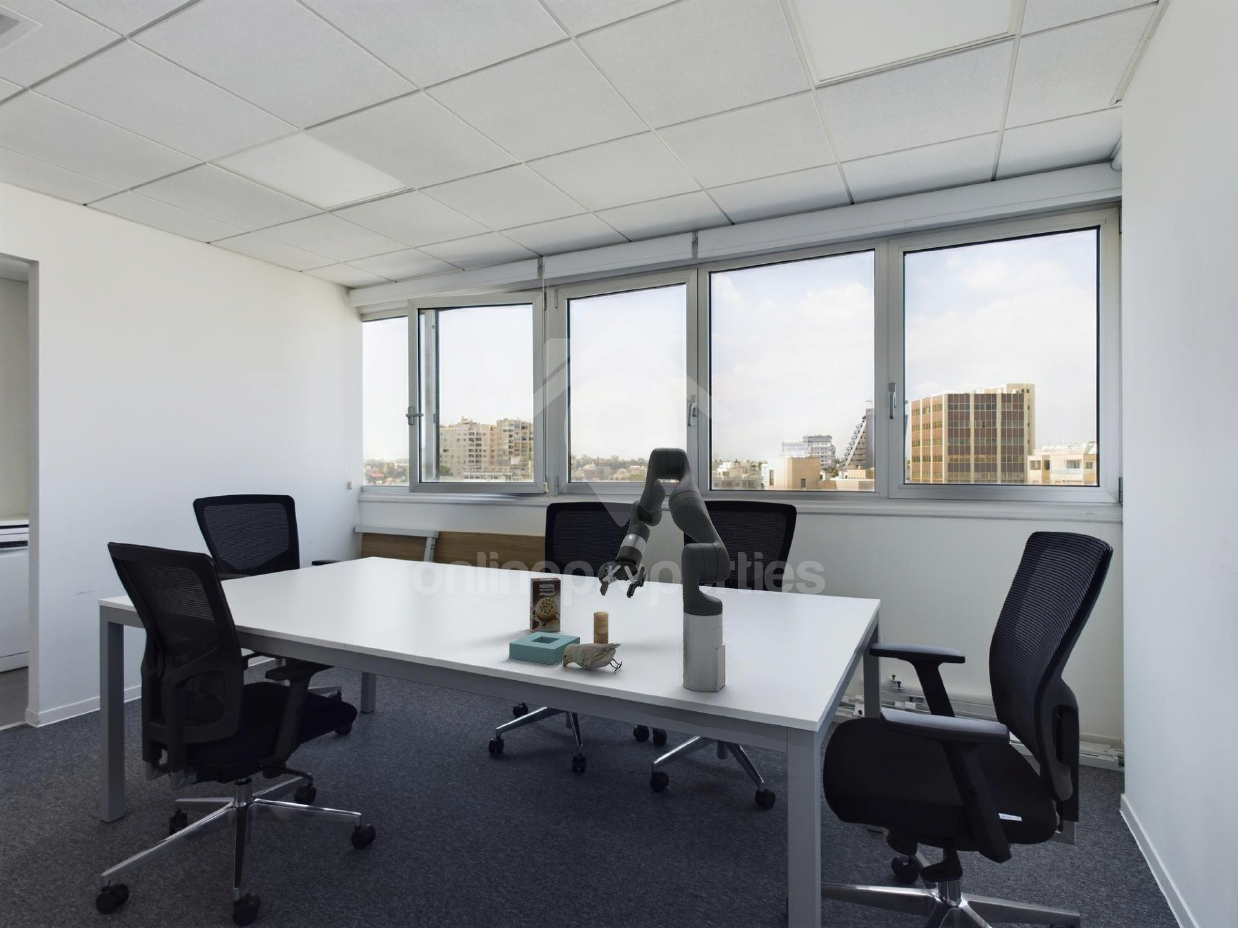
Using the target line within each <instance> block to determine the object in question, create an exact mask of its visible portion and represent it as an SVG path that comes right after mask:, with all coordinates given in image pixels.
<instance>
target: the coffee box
mask: <svg viewBox="0 0 1238 928" xmlns="http://www.w3.org/2000/svg"><path fill="white" fill-rule="evenodd" d="M529 584H530V586H529V587H530V589H529V590H530V591H529V592H530V593H529V629H530V631H531V633H535V632H545V633H551V632H561V614H562V613H561V608H562V607H561V606H562V605H561V601H562V600H561V599H562V597H561V594H562V592H561V591H562V588H561V587H562V579H560V578H559V577H536V578H535V577H532V578H530V583H529Z"/></svg>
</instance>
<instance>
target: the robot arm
mask: <svg viewBox="0 0 1238 928" xmlns="http://www.w3.org/2000/svg"><path fill="white" fill-rule="evenodd" d="M647 463H648V464H647V469H646V477H645V485H644V489H643V491H642V494H641V496H640V499H637V500H635V501H633V503H632V504H631V506H630V510H629V511H630V512H629V527H628V529H627V532H626V535H625V537H624V539H623V540H622V541H621V542H622V543H621V544H620V548H619V549H618V553H617V556H616V557H615V562H614V564H613V565H608V564H609V563H604V564H603V567H602V569H601V571H600V573H599V575H598V578H597V579H598V581H599V582H600V584H601V586H600V588H599V592H600V594H601V595H602V596H604V597H605V596H606V594H607V592H608V588H609V586H610V585H611V584H612V583H615V582H616V581H624V582H628V581H630V583H629V585H628V587H627V590H626V591H627V592H626V597H627V599H631V598H632V597H634V594H635V591H636V589H637V588H643V587H644V584H645V581H646V577H647V574H648V571H647V569H646V567H645V566H644V565H642V566H640V565H641V562H642V559H643V557H644V554H645V551H646V546H647V544H648V541H649V537H650V534H651V529H650V528H649V527H651V528H652V527H656V526H658V525H659V524H660V523H661V521H662V518H663V507H662V505H663V502H664V501H665V499H666V495H667V494H666V493H667V492H666V488H665V486H664V483H662V481H661V480H665V481H666V480H667V481H668V480H672V481H678V483H677V484H676V485H675V487H674V488H673V489H672V491H671V493H670V495H669V498H668V502H667V504H668V508H669V511H670V515H671V518H672V521H673V523H674V524H675V526H676V527H677V528H678V529H679V530H680V531H681V532H683V533H685V535H686V536H688V537H689V538H691V539H693V540H694V541H695V542H697V543H686V544H685V545H684V546H683V548H682V551H681V555H680V557H681V560H680V562H681V565H680V566H681V583H682V605H683V606H682V613H683V615H682V630H683V631H682V638H683V639H682V645H683V646H682V668H683V669H682V673H683V674H682V679H683V680H682V683H683V684H682V685H683V687H684V688H686V689H688V688H689V690H692V691H695V690H697V692H719V691H720V690H721V689H722V688H723V687H724V686H725V685H726V643H724V638H723V635H724V634H723V631H724V629H723V628H724V625H723V622H724V618H723V617H724V616H723V615H724V614H723V612H724V611H723V609H724V607H723V606H724V605H723V601H722V599H720V598H718V597H716V596H713V595H709V594H706V593H704V592H703V591H701V589H700V584H711V583H712V584H713V583H714V584H715V583H723V582H725V581H726V580H727V579H728V578H729V577H730V574H731V567H732V566H731V565H732V564H731V559H730V556H729V553H728V550H727V547H726V546H725V544H724V541H723V540H722V538H721V537H720V535H719V534H718V531H717V530H716V528H715V526H714V523H713V522H712V520H711V517H710V514H709V511H708V509H707V505H706V503H705V501H704V498H703V496H702V494H701V492H700V489H699V487H698V484H697V482H696V480H695V479H696V478H695V475H694V472H693V469H692V464H691V461H690V458H689V455H688V453H687V451H686V450H685V449H683V448H682V447H681V448H679V447H656V448H654V449H653V450H652V451H651V453H650V455H649V459H648V462H647ZM648 526H649V527H648ZM637 574H638V577H637V580H635V578H634V576H636V575H637Z"/></svg>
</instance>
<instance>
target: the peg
mask: <svg viewBox="0 0 1238 928" xmlns="http://www.w3.org/2000/svg"><path fill="white" fill-rule="evenodd" d="M593 643H596V644H609V612H607V611H595V612H593Z"/></svg>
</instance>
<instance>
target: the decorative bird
mask: <svg viewBox="0 0 1238 928" xmlns="http://www.w3.org/2000/svg"><path fill="white" fill-rule="evenodd" d="M622 644H623V643H622V642H621V643H619V642H616V643H614V642H608V644H596V643H594V642H593V643H592V642H591V643H590V642H589V643H582V644H581V643H580V644H570V645H568V646H567V647H566V648H565V650H564V652H563V655H562V661H561V662H562V665H563V667H565V666H568V665H569V664H571V663H574V664H576V665H578V666H579V667H582V668H584V669H601V668H605V667H607V666H609V665H610V666H611V667H612V668H614V671H613V673H617V671H618V670H620V669H621V667H622V666H623V660H622V661H620V663H618V662H617V660H616V659H615V658H614V657H615V654H616V653H617V648H619V647H621V645H622ZM612 661H613V662H614V663H615V664H616V666H615V665H613V664H612Z"/></svg>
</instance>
